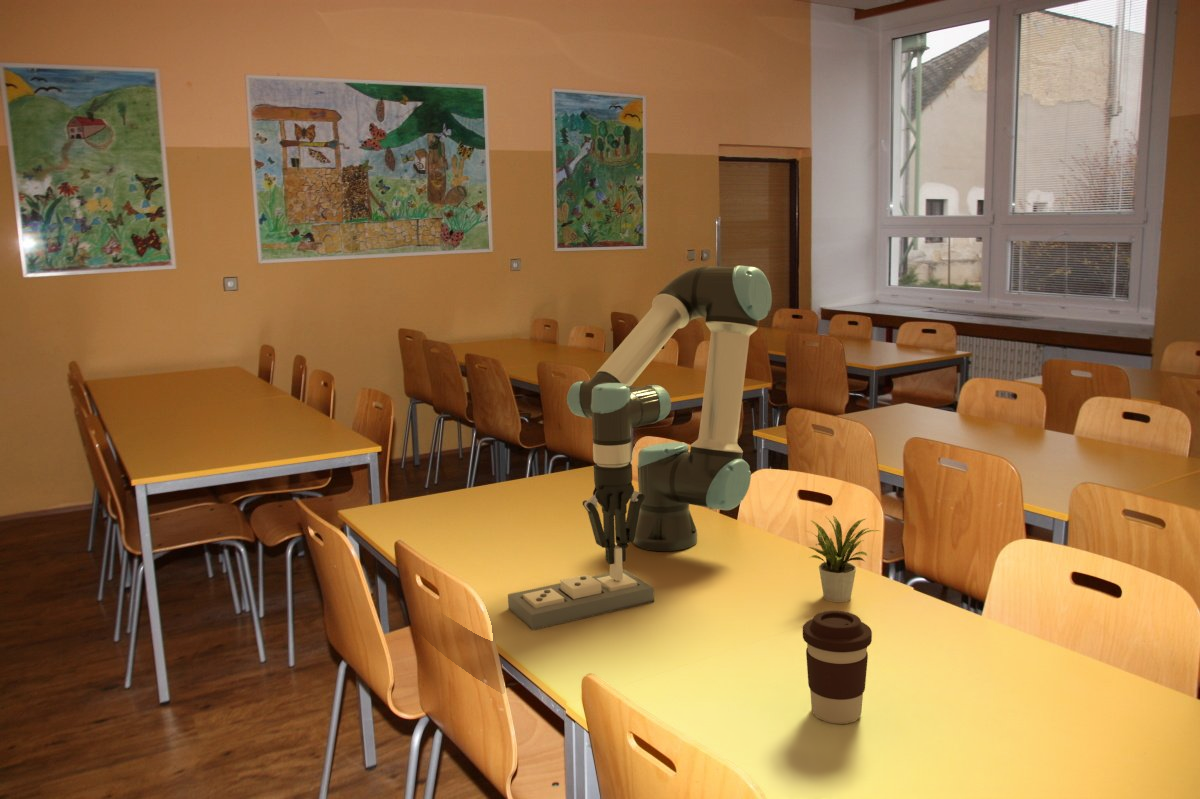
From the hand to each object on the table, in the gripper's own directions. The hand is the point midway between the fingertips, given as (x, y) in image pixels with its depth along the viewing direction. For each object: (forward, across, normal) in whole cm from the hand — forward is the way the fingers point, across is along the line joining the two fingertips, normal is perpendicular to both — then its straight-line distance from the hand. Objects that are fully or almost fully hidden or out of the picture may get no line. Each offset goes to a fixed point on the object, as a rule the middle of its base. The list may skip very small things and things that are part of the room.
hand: (616, 578), depth 194 cm
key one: (+2, 0, 0) cm, 2 cm away
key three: (+3, +16, 0) cm, 16 cm away
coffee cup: (+4, -6, +58) cm, 59 cm away
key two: (+1, +8, 0) cm, 8 cm away
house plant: (+4, -38, +24) cm, 45 cm away
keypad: (+4, +8, 0) cm, 9 cm away
